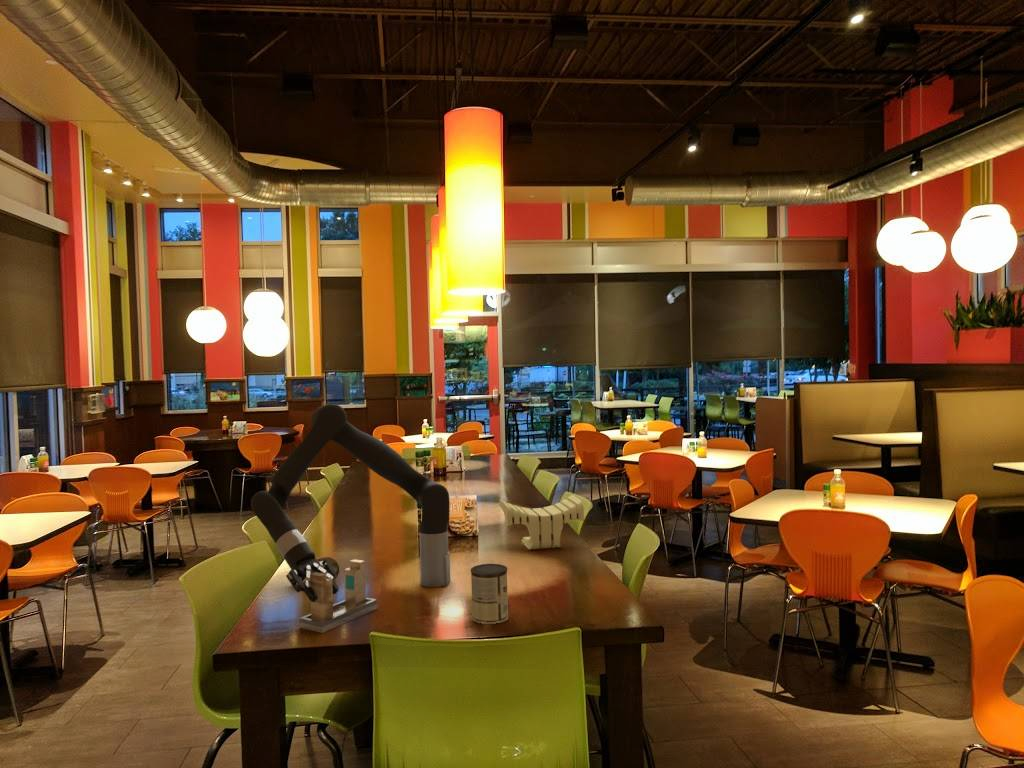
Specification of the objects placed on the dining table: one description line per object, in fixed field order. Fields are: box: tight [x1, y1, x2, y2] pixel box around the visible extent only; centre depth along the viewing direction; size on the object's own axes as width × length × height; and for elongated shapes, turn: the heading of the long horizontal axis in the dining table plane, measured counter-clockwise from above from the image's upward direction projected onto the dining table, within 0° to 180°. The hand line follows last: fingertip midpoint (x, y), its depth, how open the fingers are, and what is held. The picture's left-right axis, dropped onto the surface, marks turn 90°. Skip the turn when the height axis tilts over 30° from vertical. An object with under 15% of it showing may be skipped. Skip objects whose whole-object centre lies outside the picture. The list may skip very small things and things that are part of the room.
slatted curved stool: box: [498, 494, 585, 550], centre depth 286 cm, size 30×16×18 cm, turn 101°
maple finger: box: [310, 572, 334, 621], centre depth 202 cm, size 4×4×13 cm
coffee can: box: [470, 563, 509, 625], centre depth 205 cm, size 10×10×14 cm
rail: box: [299, 558, 378, 634], centre depth 208 cm, size 22×8×14 cm, turn 149°
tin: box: [298, 556, 340, 581], centre depth 243 cm, size 15×3×8 cm, turn 105°
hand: (326, 596), depth 202 cm, fingers open, 7 cm apart
